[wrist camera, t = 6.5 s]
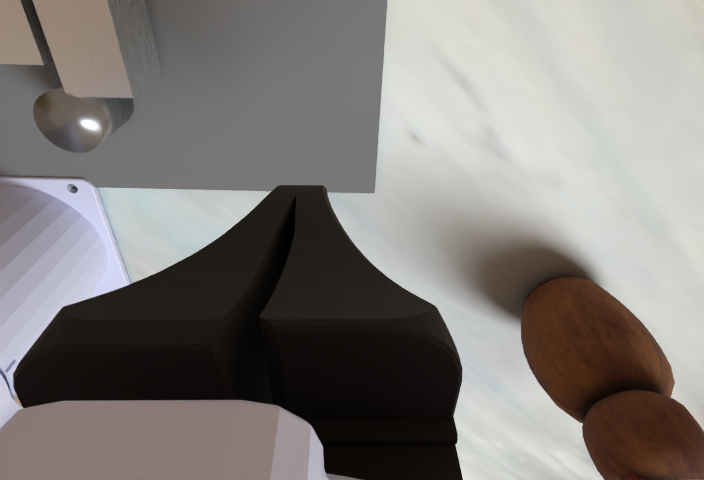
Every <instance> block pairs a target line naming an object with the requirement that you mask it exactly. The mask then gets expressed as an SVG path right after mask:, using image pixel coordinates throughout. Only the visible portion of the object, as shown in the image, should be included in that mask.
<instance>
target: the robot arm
mask: <svg viewBox="0 0 704 480" xmlns="http://www.w3.org/2000/svg"><path fill="white" fill-rule="evenodd" d="M69 184H73V185H75V186H76V187H77V189H75V188H73V187H69ZM461 383H462V366H461V362H460V358H459V355H458V352H457V349H456V346H455V344H454V342H453V339H452V337H451V335H450V333H449V330H448V328H447V326H446V324H445V322H444V320H443V318H442V316H441V315H440V313H439V311H438V309H437V308H436V307H435V306H434V305H432V304H431V303H429V302H427V301H425V300H423V299H421V298H420V297H418V296H416V295H414V294H412V293H410V292H409V291H407V290H405V289H404V288H402V287H401V286H399V285H398V284H396V283H395V282H393V281H392V280H390V279H389V278H388V277H387V276H385V275H384V274H383V273H382V272H381V271H379V270H378V269H377V268H376V267H375V266H374V265H373V264H372V263H371V262H370V261H369V260H368V259H367V258H366V257H365V256H364V255H363V254H362V253H361V252H360V251H359V249H358V248H357V247H356V246H355V245H354V243H353V242H352V241H351V239H350V238H349V236H348V235H347V233H346V232H345V231H344V229H343V227H342V226H341V224H340V222H339V221H338V219H337V217H336V215H335V213H334V211H333V209H332V207H331V204H330V202H329V199H328V195H327V189H326V188H325V187H324V186H323V185H278V186H277V187H276V188H275V189H274V190H273V191H272V192H271V193H270V194H268V195H267V196H266V197H265V198H264V199H263V200H262V201H261V202H260V203H259V204H258V205H257V206H256V207H255V208H254V209H253V210H252V211H251V212H250V213H249V214H248V215H247V216H245V217H244V218H243V219H242V220H241V221H239V222H238V223H237V224H236V225H235V226H233V227H232V228H231V229H230V230H228V231H227V232H226V233H225V234H223V235H222V236H221V237H219V238H218V239H216V240H215V241H213V242H212V243H210V244H209V245H207V246H206V247H204V248H203V249H201V250H199V251H198V252H196V253H195V254H193V255H191V256H189V257H187V258H185V259H183V260H182V261H180V262H178V263H176V264H174V265H172V266H170V267H168V268H166V269H164V270H162V271H160V272H158V273H156V274H153V275H151V276H149V277H147V278H144V279H142V280H140V281H137V282H135V283H132V284H130V281H129V278H128V275H127V272H126V270H125V267H124V264H123V261H122V258H121V255H120V253H119V250H118V247H117V244H116V241H115V238H114V236H113V233H112V230H111V227H110V224H109V221H108V219H107V216H106V213H105V210H104V207H103V204H102V202H101V199H100V196H99V193H98V190H97V187H94V185H93V184H92V183H91V182H90V181H89V180H87V179H84V178H63V177H18V176H0V480H463V478H462V474H461V469H460V464H459V460H458V455H457V451H456V446H455V444H456V443H457V431H456V426H455V422H454V417H453V415H454V411H455V407H456V403H457V399H458V395H459V391H460V387H461ZM17 396H18V398H19V400H20V402H21V405H22V406H23V408H24V409H23V408H22V407H21V406H19V405H18V404H17V403H16V402H15V401H14V400H15V399H16V397H17Z"/></svg>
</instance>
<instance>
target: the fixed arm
mask: <svg viewBox="0 0 704 480" xmlns="http://www.w3.org/2000/svg"><path fill="white" fill-rule="evenodd" d="M53 61H54V60H53V57H52V54H51V51H50V49H49V46H48V43H47V40H46V37H45V34H44V32H43V29H42V26H41V23H40V20H39V17H38V15H37V12H36V9H35V6H34V3H33V1H32V0H0V64H19V65H46V64H48V63H51V62H53Z"/></svg>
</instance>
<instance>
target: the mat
mask: <svg viewBox="0 0 704 480" xmlns="http://www.w3.org/2000/svg"><path fill="white" fill-rule="evenodd" d="M146 4H147V9H148V13H149V18H150V23H151V27H152V32H153V36H154V41H155V45H156V50H157V54H158V59H159V63H160V68H161V72H162V77H161V78H160V79H159V80H157V81H156V82H155V83H153V84H152V85H150V86H149V87H148V88H146V89H145V90H144V91H142V92H141V93H139V94H138V95H137V96H135V97H134V98H132V99H133V103H134V111H133V114H132V117H131V118H130V119H129V121H127V122H126V123H125V124H124V125H123V126H121V127H120V128H119V129H118V130H116V131H115V132H114V133H113V134H111V135H110V136H109V137H108V138H107V139H105V140H104V141H103V142H102V143H100V144H99V145H98V146H97V147H96V148H94V149H93V150H91V151H89V152H85V153H73V152H69V151H66V150H63V149H61V148H59V147H57V146H56V145H54V144H53V143H51V142H50V141H49V140H48V139H47V138H46V137H45V136H44V135H43V134H42V133H41V131H40V130H39V128H38V127H37V125H36V122H35V120H34V115H33V107H34V103H35V101H36V99H37V98H38V97H39V96H40V95H42V94H43V93H45V92H47V91H49V90H51V89H53V88H55V87H57V86H59V85H61V84H62V83H61V80H60V77H59V74H58V71H57V68H56V66H55V63H54V61H53V62H51V63H48V64H46V65H19V64H0V176H18V177H63V178H84V179H87V180H89V181H90V182H91V183H92V184H93V185H94V187H110V188H156V189H203V190H249V191H273V190H274V189H275V188H276V187H277V186H278V185H323V186H324V187H325V188H326V189H327V192H341V193H374V192H375V177H376V162H377V147H378V132H379V117H380V102H381V87H382V72H383V57H384V42H385V27H386V12H387V0H146ZM69 187H76V186H75V185H73V184H69Z"/></svg>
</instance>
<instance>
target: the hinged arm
mask: <svg viewBox="0 0 704 480" xmlns="http://www.w3.org/2000/svg"><path fill="white" fill-rule="evenodd" d="M32 1H33V3H34V6H35V9H36V12H37V15H38V17H39V20H40V23H41V26H42V29H43V32H44V34H45V37H46V40H47V43H48V46H49V49H50V51H51V54H52V57H53V60H54V63H55V66H56V68H57V71H58V74H59V77H60V80H61V83H62V84H61V85H59V86H57V87H55V88H53V89H51V90H49V91H47V92H45V93H43V94H42V95H40V96H39V97H38V98H37V99H36V101H35V103H34V107H33V115H34V120H35V122H36V125H37V127H38V128H39V130H40V131H41V133H42V134H43V135H44V136H45V137H46V138H47V139H48V140H49V141H50V142H51V143H53V144H54V145H56V146H57V147H59V148H61V149H63V150H66V151H69V152H73V153H85V152H89V151H91V150H93V149H94V148H96V147H97V146H98V145H99V144H100V143H102V142H103V141H104V140H105V139H107V138H108V137H109V136H110V135H111V134H113V133H114V132H115V131H116V130H118V129H119V128H120V127H121V126H123V125H124V124H125V123H126V122H127V121H129V119H130V118H131V117H132V114H133V111H134V103H133V99H132V98H134V97H135V96H137V95H138V94H139V93H141V92H142V91H144V90H145V89H146V88H148V87H149V86H150V85H152V84H153V83H155V82H156V81H157V80H159V79H160V78H161V77H162V72H161V68H160V63H159V59H158V54H157V50H156V45H155V41H154V36H153V32H152V27H151V23H150V18H149V13H148V9H147V4H146V0H32Z"/></svg>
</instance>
